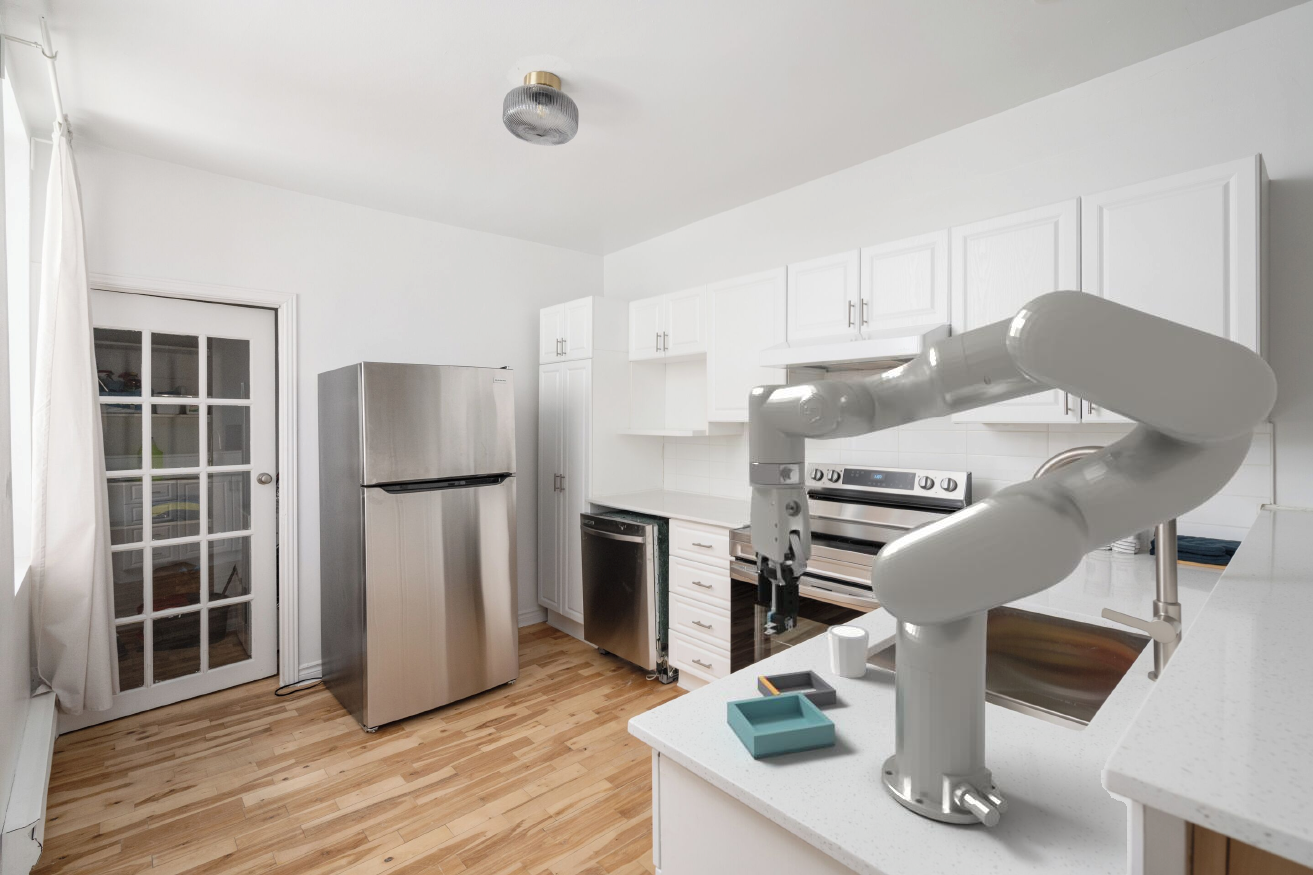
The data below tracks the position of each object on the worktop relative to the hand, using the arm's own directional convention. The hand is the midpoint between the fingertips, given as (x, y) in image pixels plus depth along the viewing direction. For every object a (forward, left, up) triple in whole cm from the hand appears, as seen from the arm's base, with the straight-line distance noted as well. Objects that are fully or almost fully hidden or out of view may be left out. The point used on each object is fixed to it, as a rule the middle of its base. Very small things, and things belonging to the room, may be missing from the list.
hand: (777, 605), depth 83 cm
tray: (0, 0, -18) cm, 18 cm away
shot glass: (+16, -20, -18) cm, 32 cm away
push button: (0, 0, -4) cm, 4 cm away
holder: (+10, -7, -18) cm, 22 cm away
